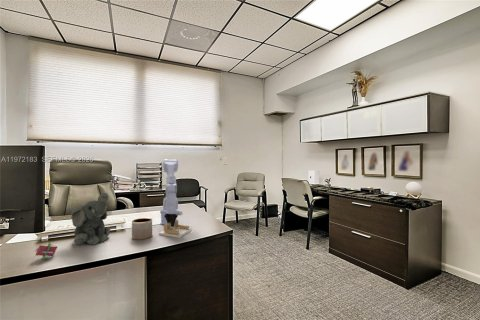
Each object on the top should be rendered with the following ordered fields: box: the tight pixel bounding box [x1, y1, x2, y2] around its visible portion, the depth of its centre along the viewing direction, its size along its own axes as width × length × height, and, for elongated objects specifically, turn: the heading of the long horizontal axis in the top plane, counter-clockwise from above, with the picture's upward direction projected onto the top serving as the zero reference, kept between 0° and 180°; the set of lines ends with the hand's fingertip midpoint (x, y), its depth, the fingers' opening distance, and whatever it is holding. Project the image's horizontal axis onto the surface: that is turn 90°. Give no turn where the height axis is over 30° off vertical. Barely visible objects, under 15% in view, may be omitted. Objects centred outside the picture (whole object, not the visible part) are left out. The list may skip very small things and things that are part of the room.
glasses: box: [163, 219, 190, 234], centre depth 139 cm, size 10×12×4 cm
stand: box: [158, 227, 192, 238], centre depth 139 cm, size 14×12×3 cm
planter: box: [131, 217, 153, 241], centre depth 133 cm, size 11×11×10 cm
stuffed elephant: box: [70, 192, 111, 245], centre depth 127 cm, size 19×21×27 cm
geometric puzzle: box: [35, 242, 58, 260], centre depth 104 cm, size 7×7×8 cm
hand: (171, 226), depth 140 cm, fingers closed on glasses, 2 cm apart
